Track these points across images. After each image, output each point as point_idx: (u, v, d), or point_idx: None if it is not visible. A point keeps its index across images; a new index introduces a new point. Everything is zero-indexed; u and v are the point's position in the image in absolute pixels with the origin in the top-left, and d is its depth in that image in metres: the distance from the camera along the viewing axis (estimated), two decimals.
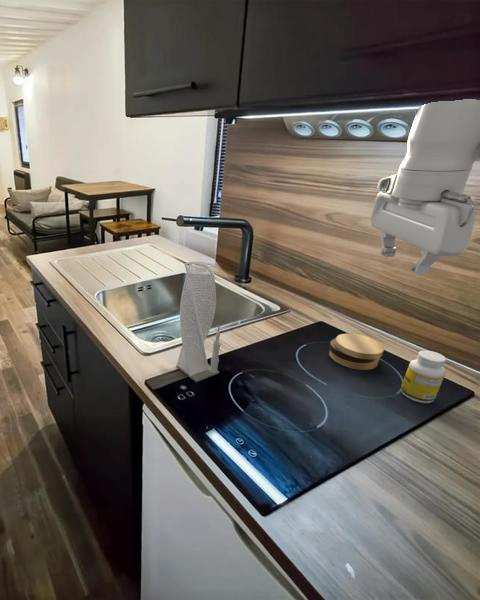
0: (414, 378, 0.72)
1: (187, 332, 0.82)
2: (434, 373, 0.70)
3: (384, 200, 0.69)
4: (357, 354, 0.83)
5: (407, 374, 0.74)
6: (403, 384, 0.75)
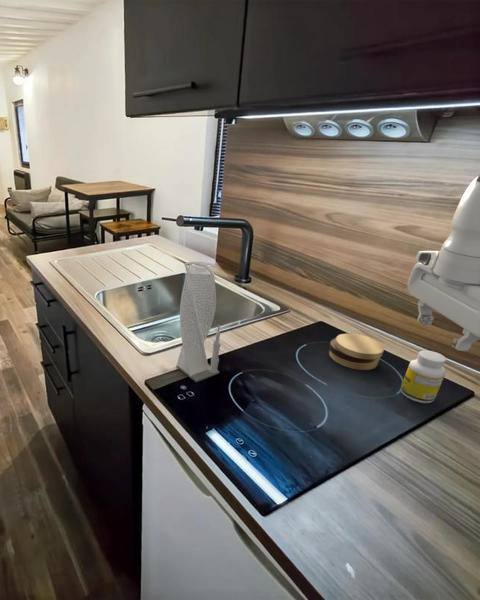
0: (414, 378, 0.72)
1: (187, 332, 0.82)
2: (434, 373, 0.70)
3: (422, 271, 0.71)
4: (357, 354, 0.83)
5: (407, 374, 0.74)
6: (403, 384, 0.75)
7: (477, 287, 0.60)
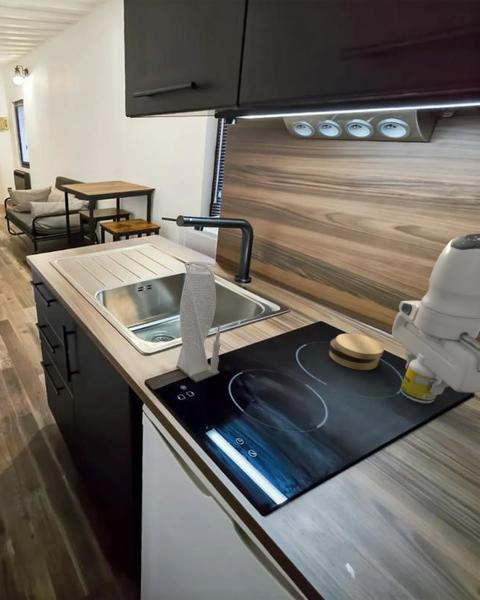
0: (414, 378, 0.72)
1: (187, 332, 0.82)
2: (434, 373, 0.70)
3: (405, 319, 0.76)
4: (357, 354, 0.83)
5: (407, 374, 0.74)
6: (403, 384, 0.75)
7: (453, 343, 0.65)
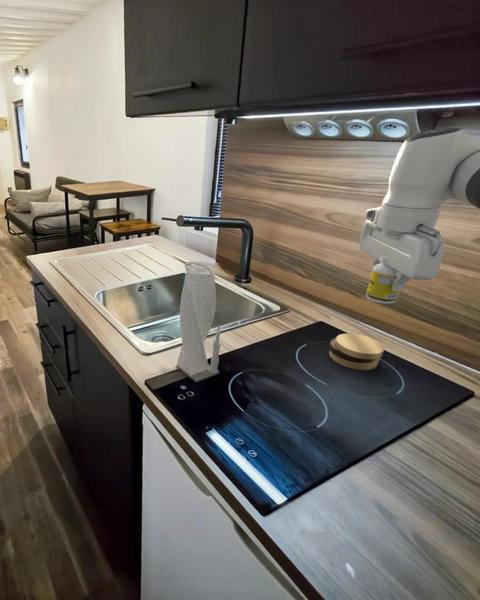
0: (377, 279, 0.76)
1: (187, 332, 0.82)
2: (395, 271, 0.74)
3: (370, 228, 0.80)
4: (357, 354, 0.83)
5: (372, 277, 0.78)
6: (368, 288, 0.79)
7: (410, 235, 0.69)
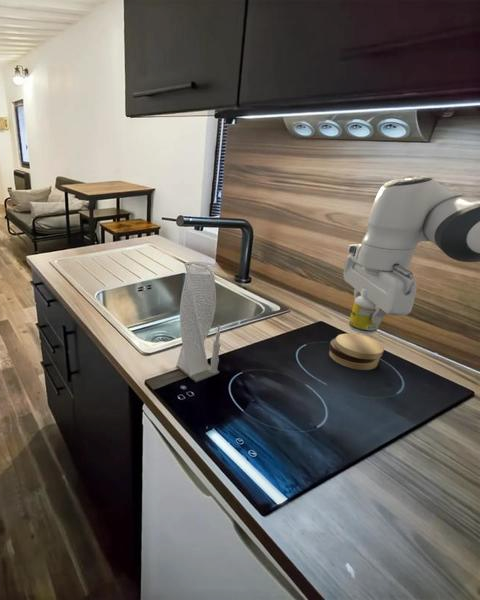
0: (358, 311, 0.82)
1: (187, 332, 0.82)
2: (374, 305, 0.79)
3: (353, 261, 0.85)
4: (357, 354, 0.83)
5: (353, 308, 0.83)
6: (350, 319, 0.84)
7: (386, 273, 0.74)
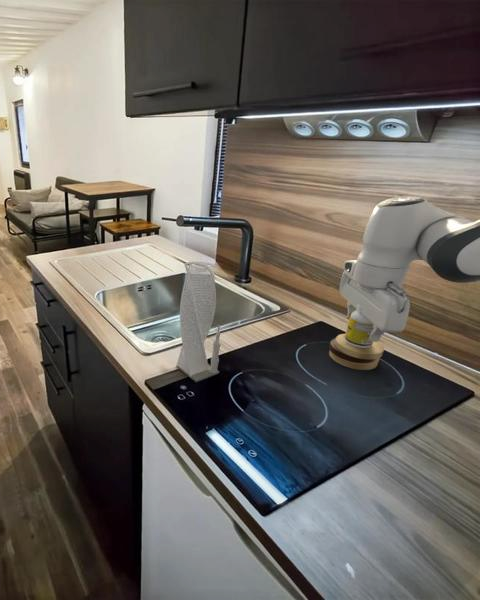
0: (354, 325, 0.83)
1: (187, 332, 0.82)
2: (369, 320, 0.81)
3: (348, 277, 0.87)
4: (357, 354, 0.83)
5: (349, 323, 0.85)
6: (346, 333, 0.86)
7: (380, 290, 0.75)
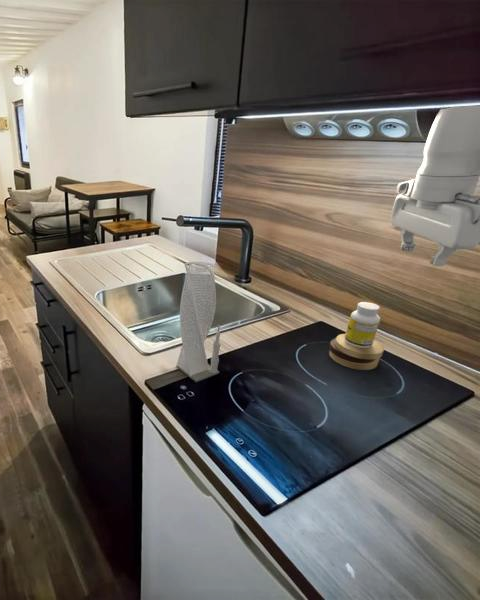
0: (354, 325, 0.83)
1: (187, 332, 0.82)
2: (369, 320, 0.81)
3: (403, 201, 0.79)
4: (357, 354, 0.83)
5: (349, 323, 0.85)
6: (346, 333, 0.86)
7: (448, 204, 0.67)
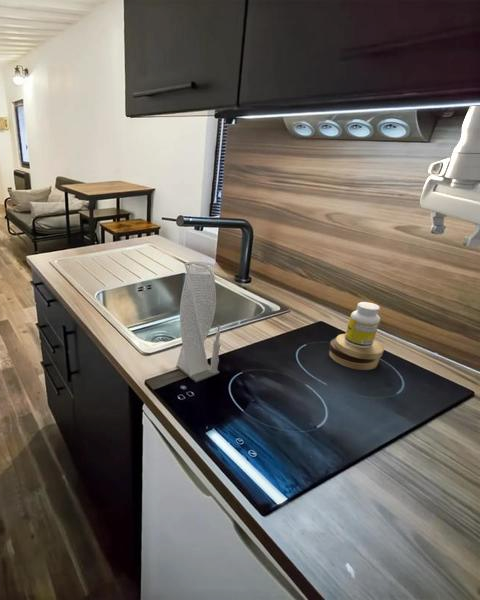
0: (354, 325, 0.83)
1: (187, 332, 0.82)
2: (369, 320, 0.81)
3: (435, 182, 0.77)
4: (357, 354, 0.83)
5: (349, 323, 0.85)
6: (346, 333, 0.86)
7: None
